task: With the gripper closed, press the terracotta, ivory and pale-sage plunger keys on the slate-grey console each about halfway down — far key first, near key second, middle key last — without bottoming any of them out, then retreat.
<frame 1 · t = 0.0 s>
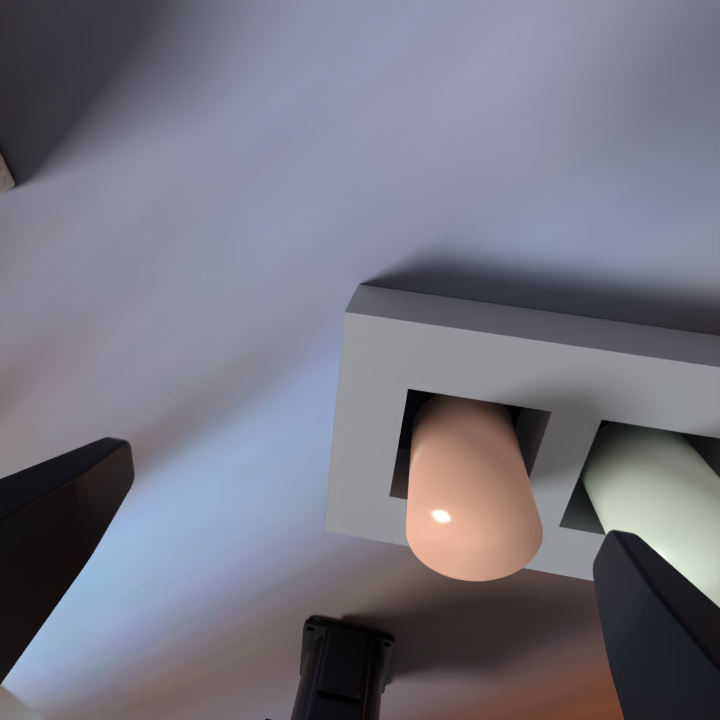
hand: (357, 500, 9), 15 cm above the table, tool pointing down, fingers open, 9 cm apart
console: (616, 435, 24), on the table
terracotta key: (466, 475, 19), point 5 cm above the table, slide at 0.0 cm
sage key: (662, 509, 19), point 5 cm above the table, slide at 0.0 cm
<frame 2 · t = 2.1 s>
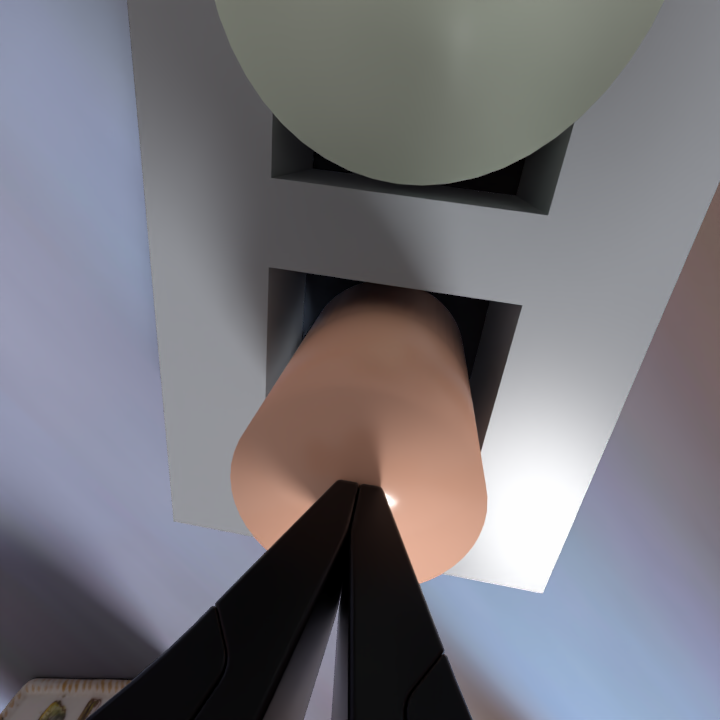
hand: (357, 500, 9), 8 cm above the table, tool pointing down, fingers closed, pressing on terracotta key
console: (431, 61, 12), on the table
terracotta key: (373, 409, 11), point 5 cm above the table, slide at 0.6 cm, touching gripper
sage key: (431, 10, 7), point 5 cm above the table, slide at 0.0 cm
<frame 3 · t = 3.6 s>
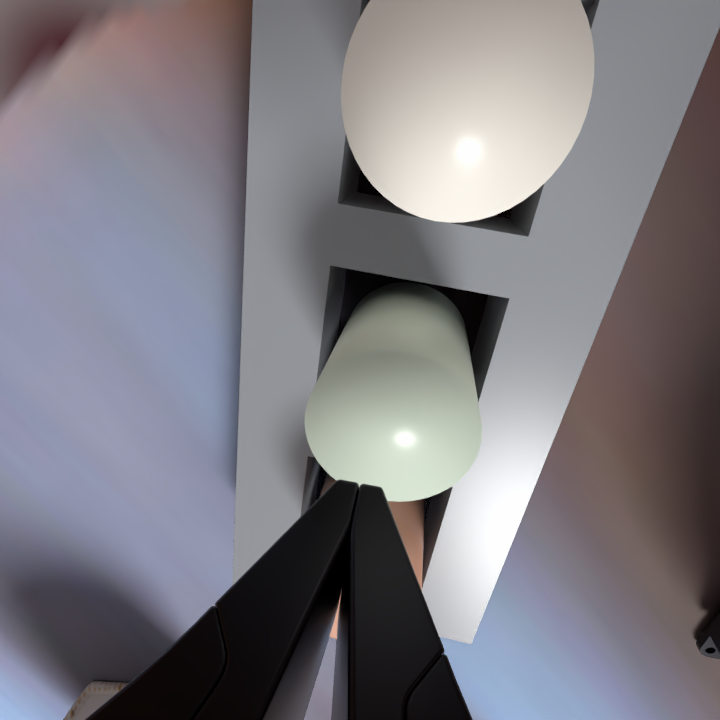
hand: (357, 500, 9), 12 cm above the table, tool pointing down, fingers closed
console: (408, 323, 20), on the table
terracotta key: (366, 533, 20), point 4 cm above the table, slide at 0.8 cm
sage key: (399, 378, 15), point 5 cm above the table, slide at 0.0 cm
ivory key: (455, 108, 12), point 5 cm above the table, slide at 0.0 cm
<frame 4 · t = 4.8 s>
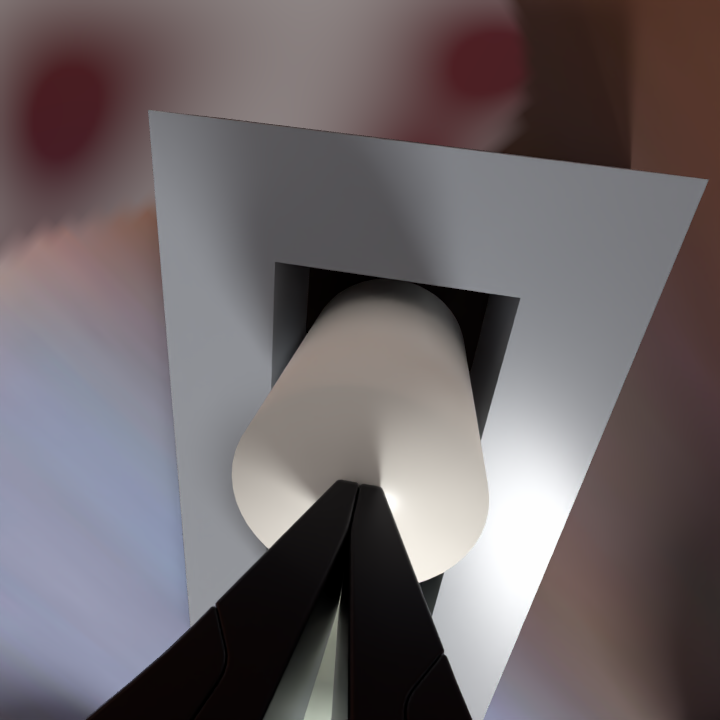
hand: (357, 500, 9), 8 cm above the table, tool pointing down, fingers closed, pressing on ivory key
console: (364, 504, 20), on the table
sage key: (343, 619, 15), point 5 cm above the table, slide at 0.0 cm
ivory key: (374, 407, 11), point 5 cm above the table, slide at 0.2 cm, touching gripper
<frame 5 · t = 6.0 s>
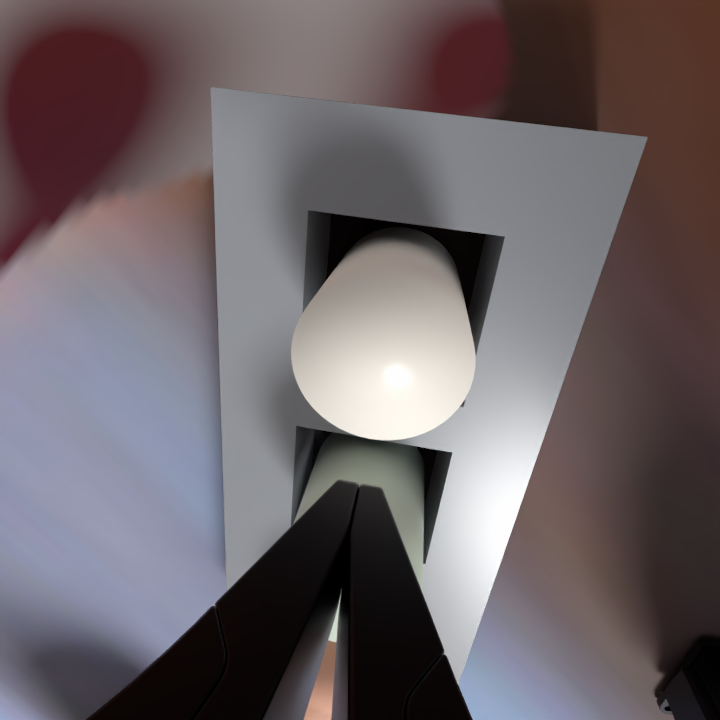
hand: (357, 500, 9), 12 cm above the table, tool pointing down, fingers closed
console: (375, 441, 22), on the table
terracotta key: (344, 632, 22), point 4 cm above the table, slide at 0.8 cm
sage key: (360, 521, 18), point 5 cm above the table, slide at 0.0 cm
ivory key: (390, 320, 15), point 4 cm above the table, slide at 0.9 cm
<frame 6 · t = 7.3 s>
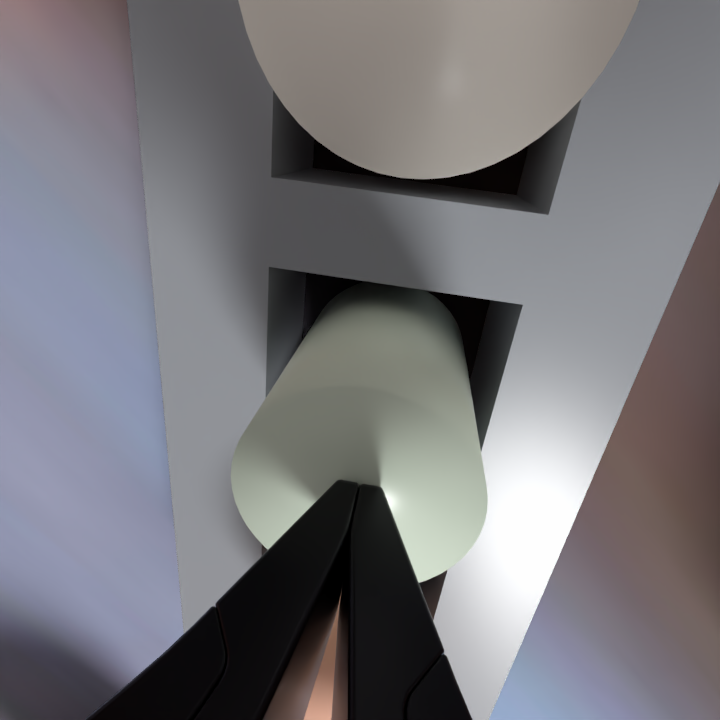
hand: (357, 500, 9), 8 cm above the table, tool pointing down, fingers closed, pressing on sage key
console: (389, 337, 16), on the table
terracotta key: (344, 609, 15), point 4 cm above the table, slide at 0.8 cm
sage key: (374, 408, 11), point 5 cm above the table, slide at 0.6 cm, touching gripper
ivory key: (431, 21, 8), point 4 cm above the table, slide at 0.9 cm
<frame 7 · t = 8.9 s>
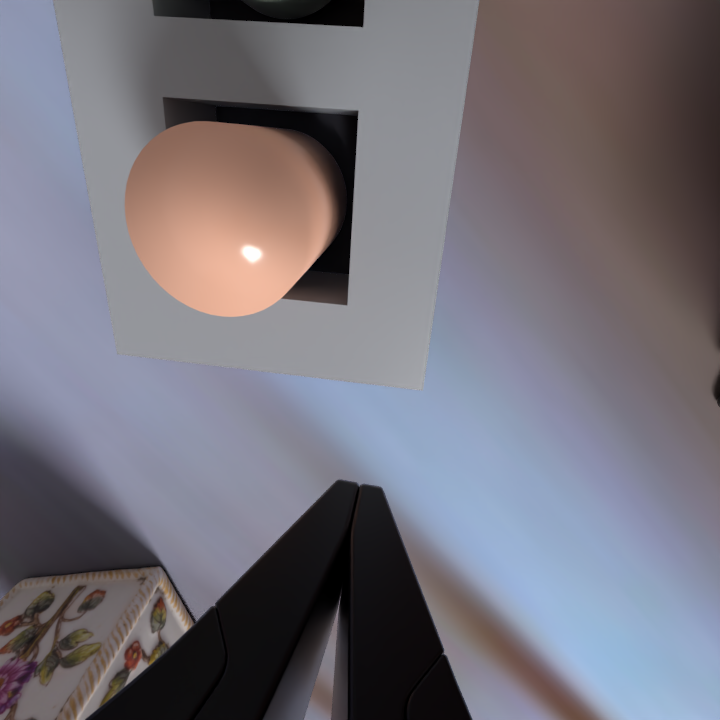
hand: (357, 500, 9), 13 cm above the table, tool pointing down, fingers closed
terracotta key: (257, 210, 15), point 4 cm above the table, slide at 0.8 cm
decorative jar: (128, 623, 33), on the table
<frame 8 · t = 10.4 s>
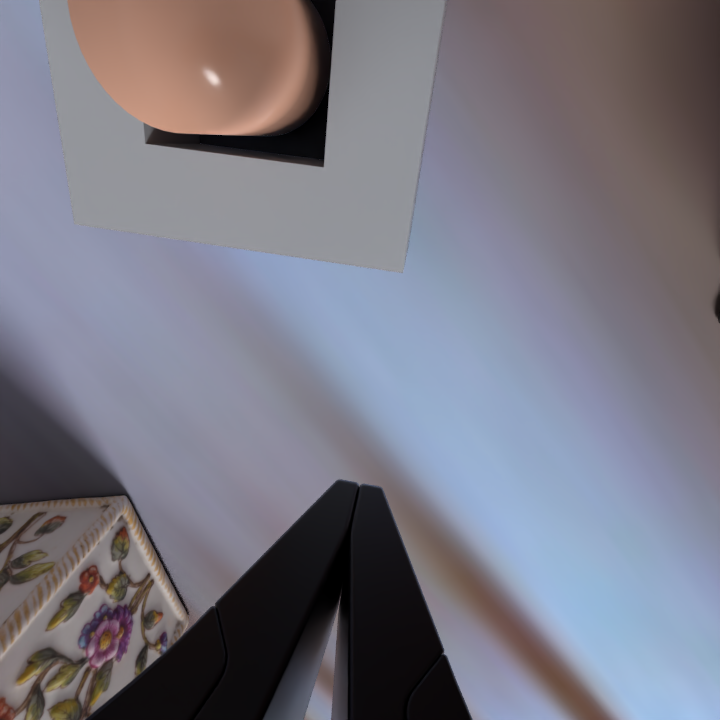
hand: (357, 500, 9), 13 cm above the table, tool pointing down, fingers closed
terracotta key: (226, 42, 13), point 4 cm above the table, slide at 0.8 cm
decorative jar: (92, 559, 31), on the table
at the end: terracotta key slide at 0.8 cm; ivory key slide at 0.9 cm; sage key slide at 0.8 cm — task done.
